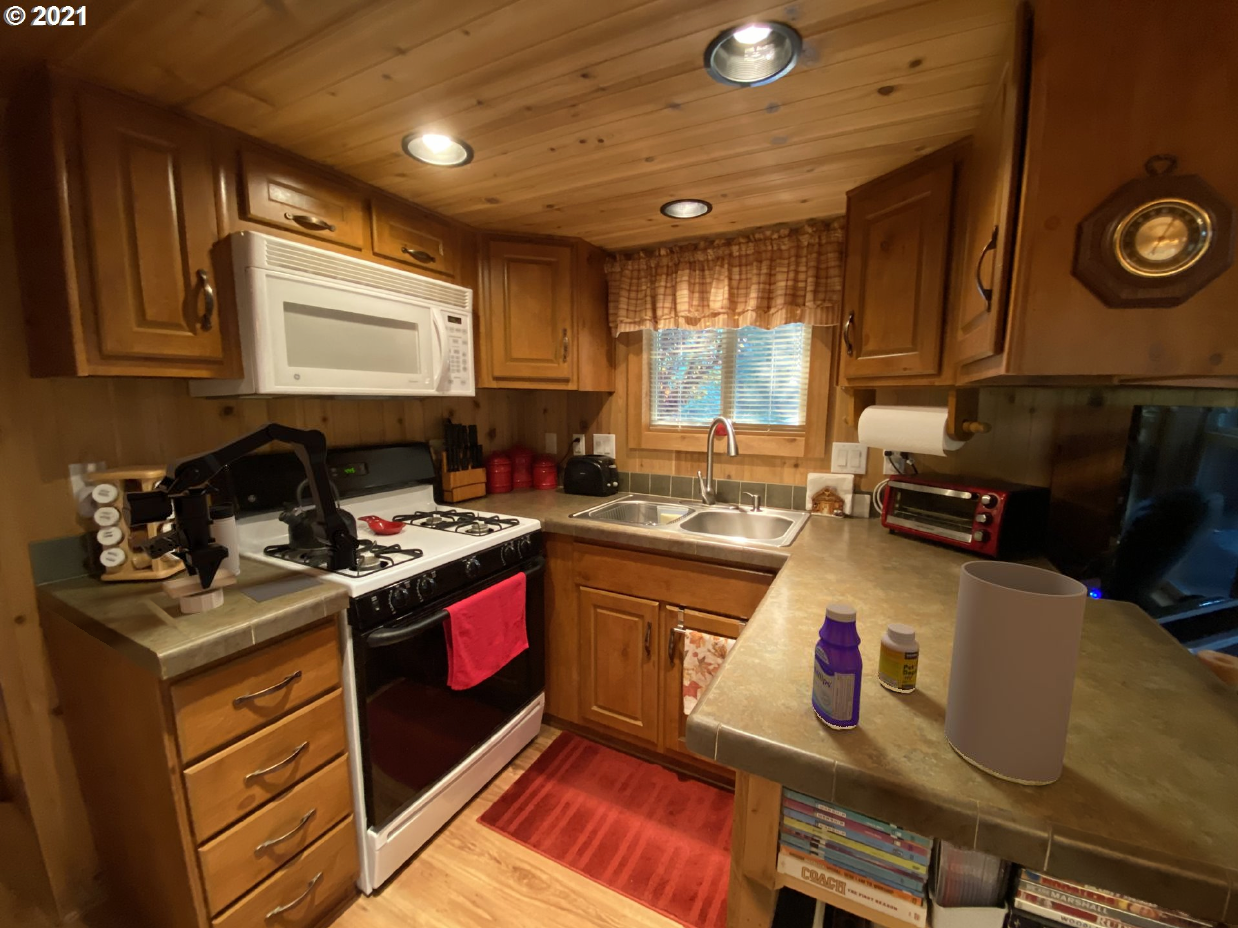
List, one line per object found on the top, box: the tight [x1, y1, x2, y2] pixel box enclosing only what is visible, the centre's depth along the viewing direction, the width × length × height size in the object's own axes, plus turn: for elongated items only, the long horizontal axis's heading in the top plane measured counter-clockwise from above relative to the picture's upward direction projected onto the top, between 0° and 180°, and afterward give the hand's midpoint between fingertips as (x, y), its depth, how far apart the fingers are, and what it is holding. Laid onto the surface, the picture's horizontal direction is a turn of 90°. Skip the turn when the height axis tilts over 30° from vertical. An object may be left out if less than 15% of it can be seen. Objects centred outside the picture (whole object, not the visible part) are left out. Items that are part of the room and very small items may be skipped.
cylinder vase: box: [943, 560, 1088, 782], centre depth 64 cm, size 12×12×25 cm
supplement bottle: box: [877, 622, 921, 690], centre depth 81 cm, size 6×6×10 cm
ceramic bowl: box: [178, 586, 224, 614], centre depth 108 cm, size 7×7×4 cm
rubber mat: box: [239, 573, 325, 604], centre depth 119 cm, size 14×12×1 cm
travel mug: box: [208, 501, 241, 577], centre depth 126 cm, size 6×7×20 cm
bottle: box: [811, 602, 864, 727], centre depth 72 cm, size 7×6×17 cm
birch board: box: [161, 568, 237, 600], centre depth 107 cm, size 11×7×2 cm, turn 146°
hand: (200, 584), depth 108 cm, fingers closed on birch board, 7 cm apart
